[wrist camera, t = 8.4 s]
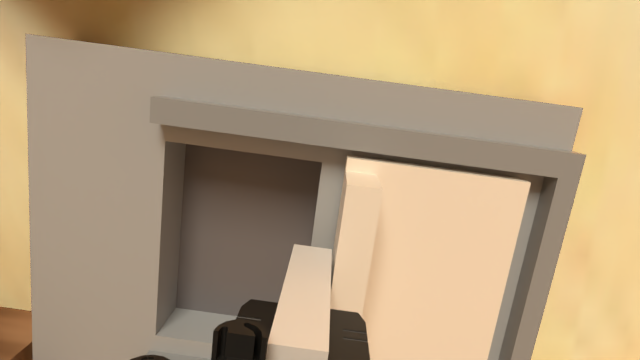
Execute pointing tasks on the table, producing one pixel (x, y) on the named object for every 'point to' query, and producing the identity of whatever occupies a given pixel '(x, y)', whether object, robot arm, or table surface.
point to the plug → (15, 334)
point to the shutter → (424, 256)
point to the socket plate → (243, 188)
